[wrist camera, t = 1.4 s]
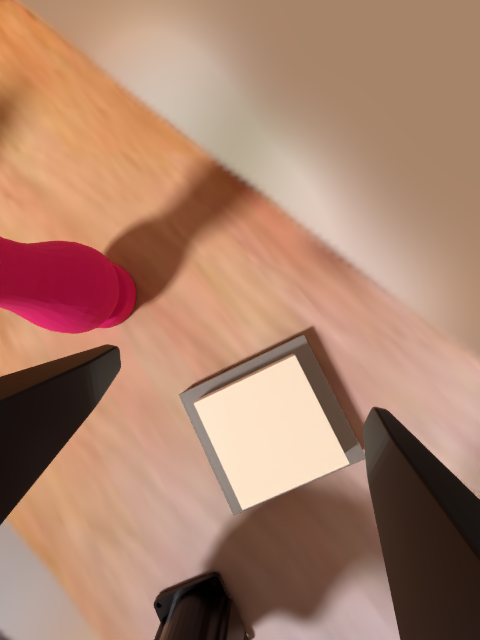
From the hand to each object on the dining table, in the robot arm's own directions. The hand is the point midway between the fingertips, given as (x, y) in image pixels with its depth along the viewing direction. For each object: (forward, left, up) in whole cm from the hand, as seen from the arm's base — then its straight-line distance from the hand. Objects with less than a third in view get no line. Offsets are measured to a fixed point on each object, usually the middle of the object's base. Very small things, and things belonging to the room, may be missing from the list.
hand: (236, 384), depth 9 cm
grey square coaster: (-2, -6, -14) cm, 16 cm away
